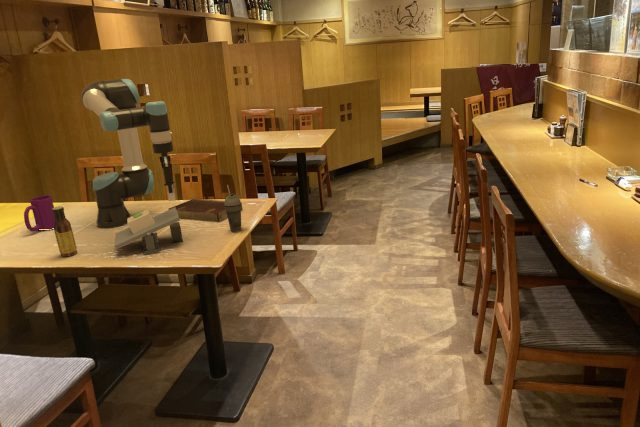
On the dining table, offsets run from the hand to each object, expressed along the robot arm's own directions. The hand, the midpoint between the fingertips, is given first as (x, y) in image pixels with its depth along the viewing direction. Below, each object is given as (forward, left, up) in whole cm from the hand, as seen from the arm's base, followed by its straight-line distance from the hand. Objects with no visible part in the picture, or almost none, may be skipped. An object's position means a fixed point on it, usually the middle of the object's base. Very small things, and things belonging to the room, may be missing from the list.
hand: (172, 200), depth 206 cm
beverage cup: (+12, +21, -18) cm, 30 cm away
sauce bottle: (-27, -33, -18) cm, 46 cm away
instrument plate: (-6, -9, -10) cm, 15 cm away
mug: (-72, -25, -18) cm, 78 cm away
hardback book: (-20, +30, -18) cm, 40 cm away
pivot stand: (-3, -5, -17) cm, 18 cm away
